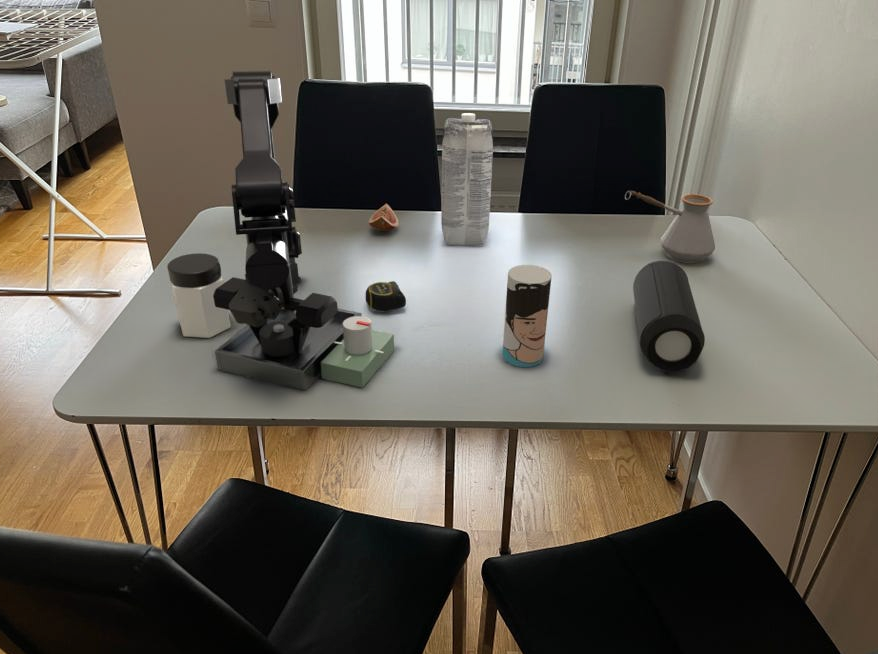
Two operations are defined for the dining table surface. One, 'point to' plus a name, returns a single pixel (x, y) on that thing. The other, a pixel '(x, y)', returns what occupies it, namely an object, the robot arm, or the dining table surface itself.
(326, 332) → the sink
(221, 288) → the robot arm
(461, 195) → the juice carton
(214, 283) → the jar
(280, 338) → the stopper
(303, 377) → the grey metal tray
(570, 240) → the dining table surface
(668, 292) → the portable speaker
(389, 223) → the fruit slice
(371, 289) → the tape measure
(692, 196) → the coffee pot
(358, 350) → the tap knob
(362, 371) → the panel
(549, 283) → the cup
